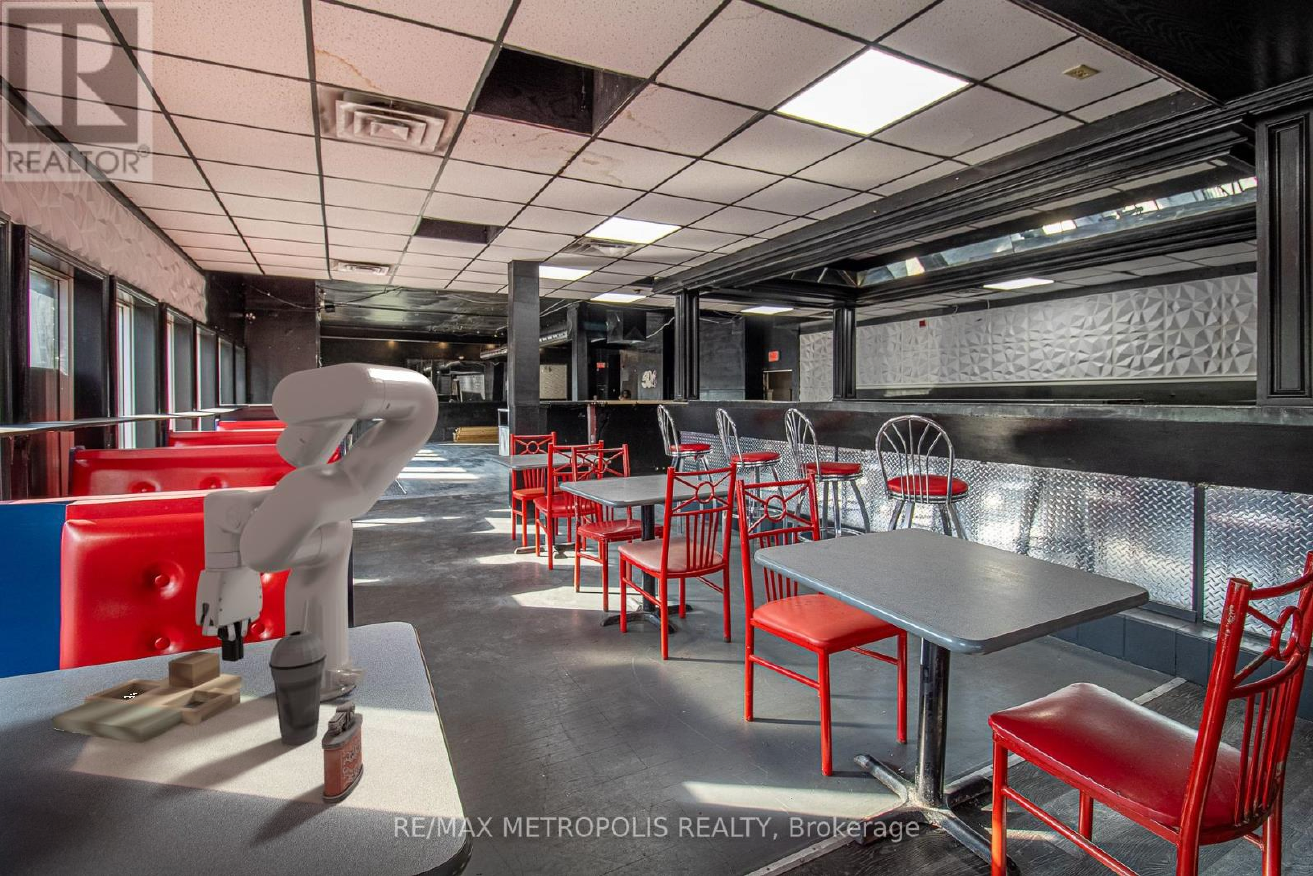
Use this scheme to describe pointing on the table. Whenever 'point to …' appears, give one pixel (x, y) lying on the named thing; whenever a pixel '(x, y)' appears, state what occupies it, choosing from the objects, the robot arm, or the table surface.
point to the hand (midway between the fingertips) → (232, 659)
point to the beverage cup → (298, 683)
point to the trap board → (149, 708)
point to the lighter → (342, 754)
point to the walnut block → (194, 669)
